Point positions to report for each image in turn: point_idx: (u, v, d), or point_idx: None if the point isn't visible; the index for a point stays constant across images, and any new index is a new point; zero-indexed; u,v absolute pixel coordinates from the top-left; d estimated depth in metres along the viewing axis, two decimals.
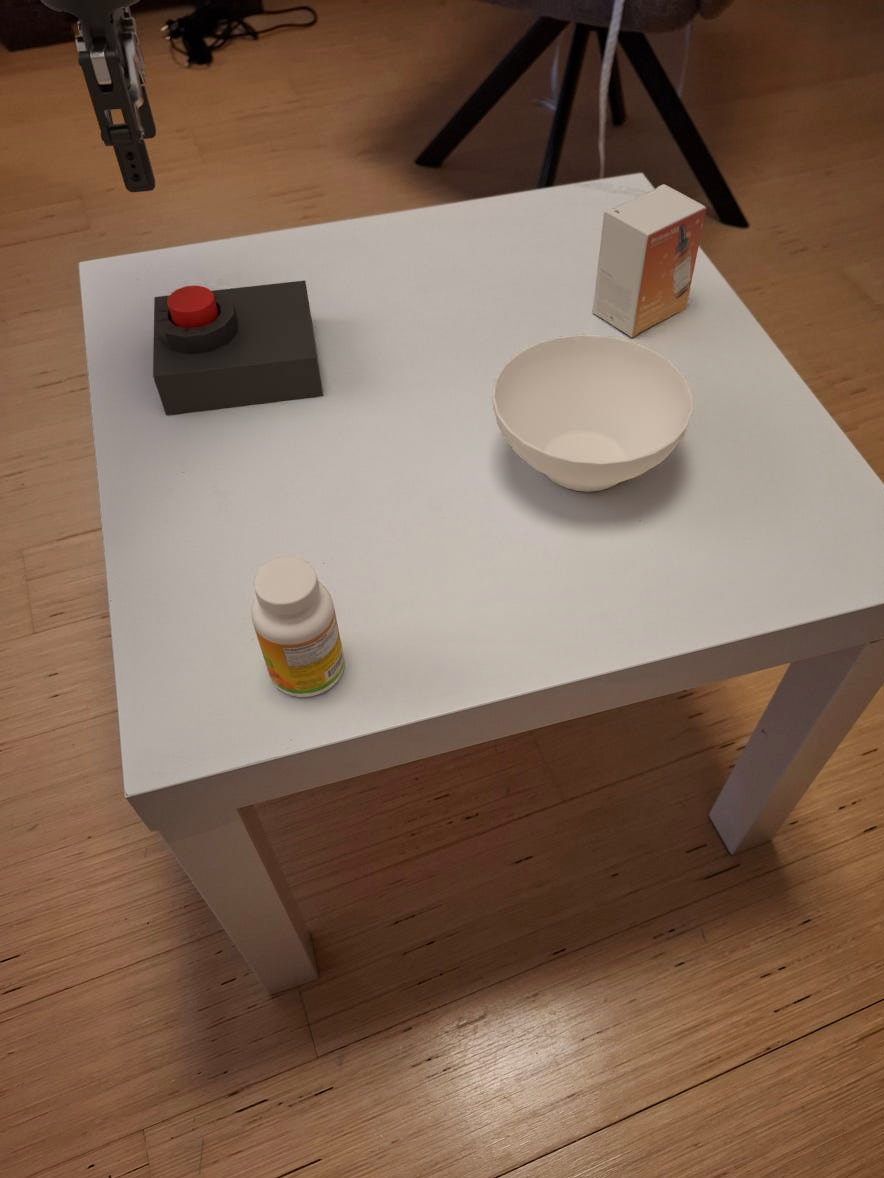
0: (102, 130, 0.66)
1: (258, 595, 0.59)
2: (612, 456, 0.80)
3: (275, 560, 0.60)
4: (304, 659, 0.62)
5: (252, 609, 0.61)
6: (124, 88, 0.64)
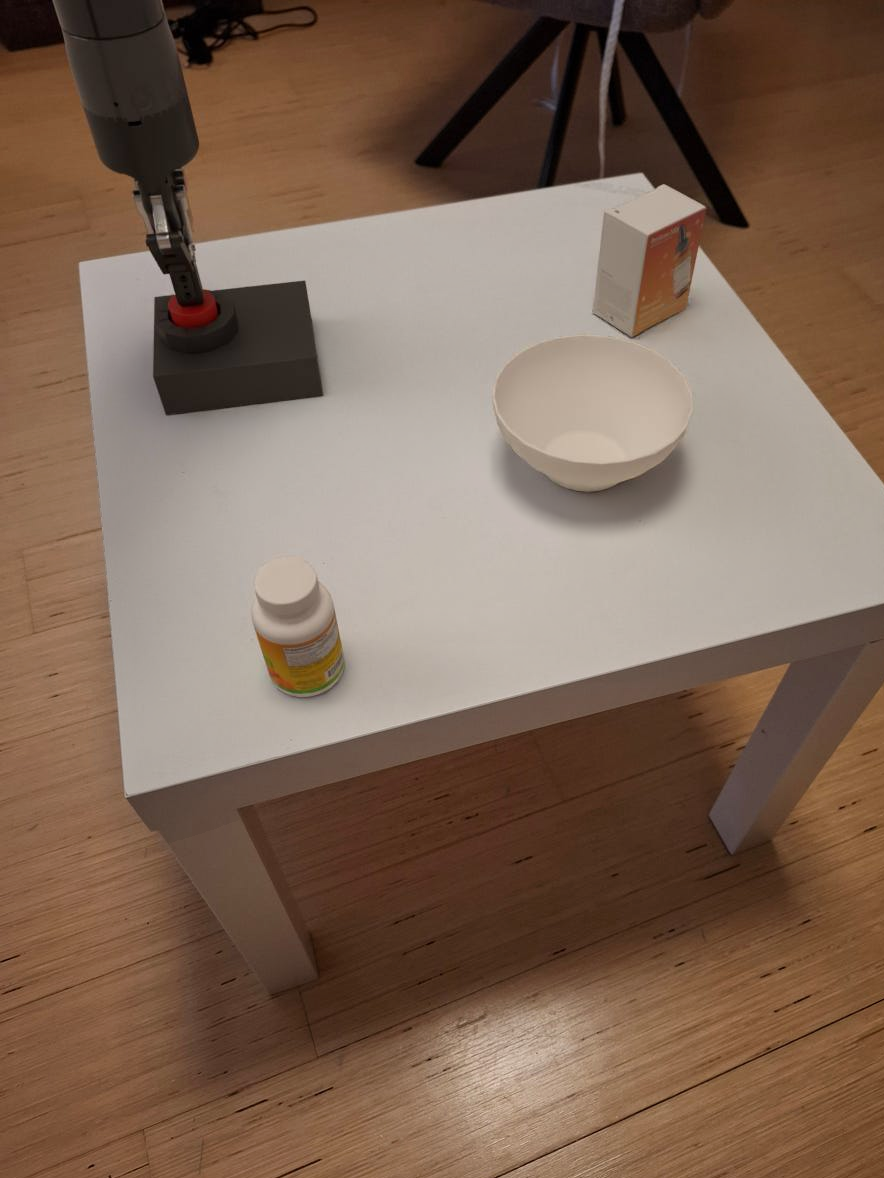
0: (163, 270, 0.76)
1: (258, 595, 0.59)
2: (612, 456, 0.80)
3: (275, 560, 0.60)
4: (304, 659, 0.62)
5: (252, 609, 0.61)
6: (185, 254, 0.73)
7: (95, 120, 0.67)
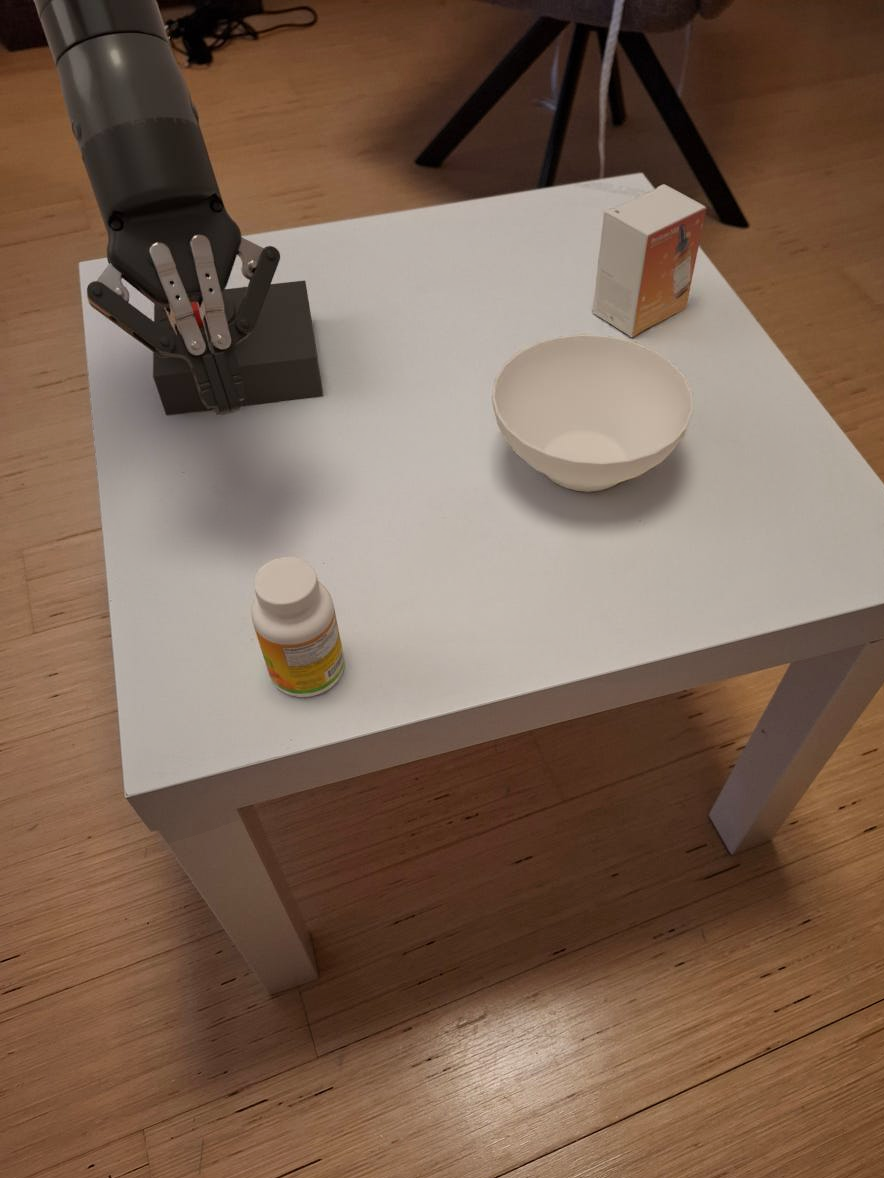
0: None
1: (258, 595, 0.59)
2: (612, 456, 0.80)
3: (275, 560, 0.60)
4: (304, 659, 0.62)
5: (252, 609, 0.61)
6: (116, 315, 0.58)
7: None
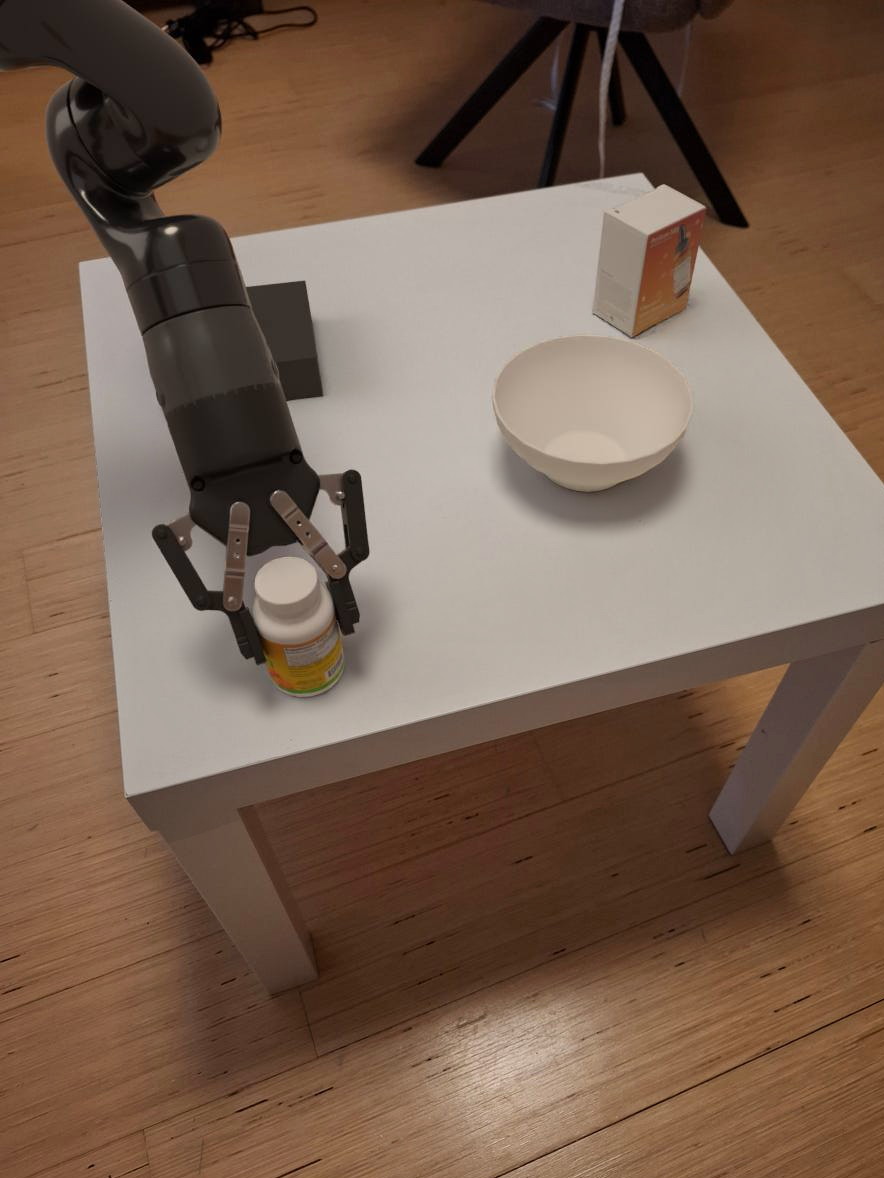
0: None
1: (259, 595, 0.59)
2: (612, 456, 0.80)
3: (276, 560, 0.60)
4: (305, 659, 0.62)
5: (252, 609, 0.61)
6: (167, 561, 0.58)
7: None
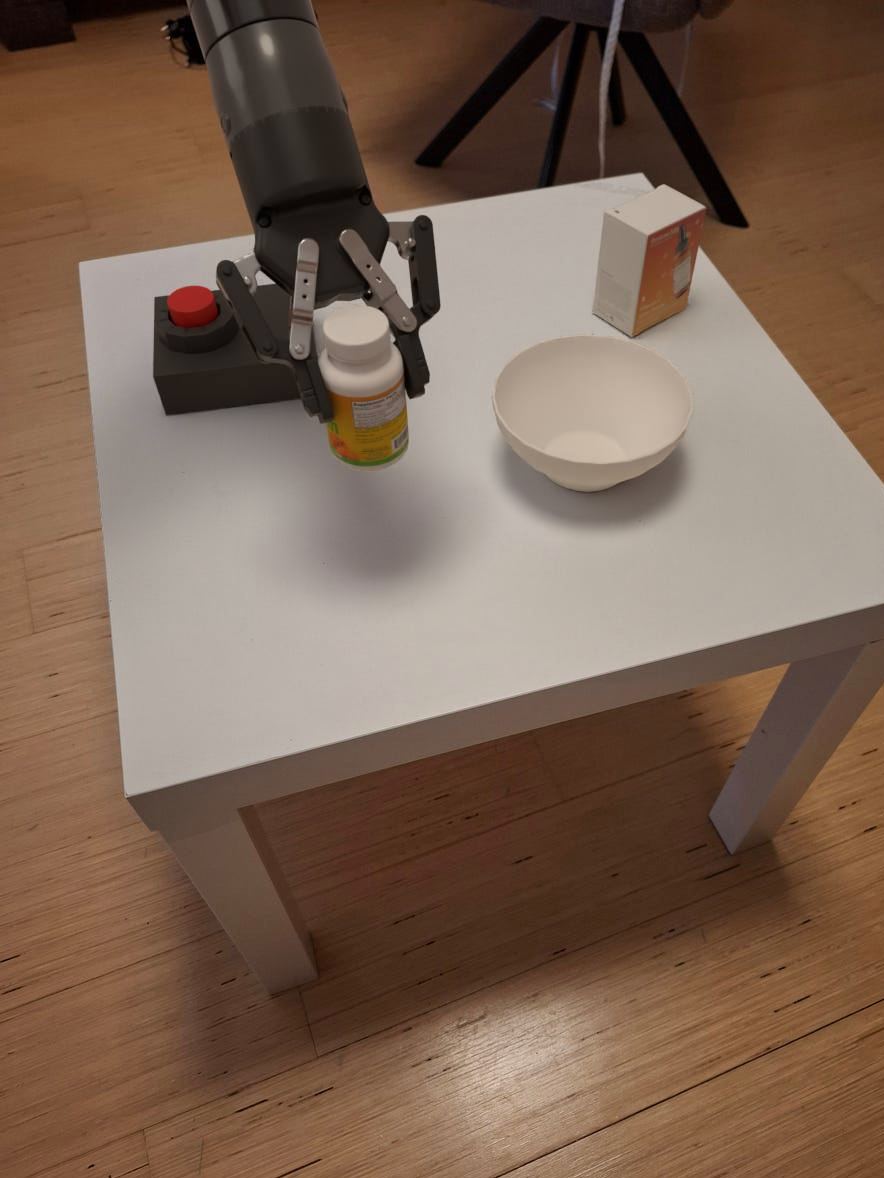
0: (251, 348, 0.58)
1: (328, 338, 0.56)
2: (612, 456, 0.80)
3: (344, 308, 0.57)
4: (373, 419, 0.59)
5: (319, 362, 0.58)
6: (233, 300, 0.55)
7: None
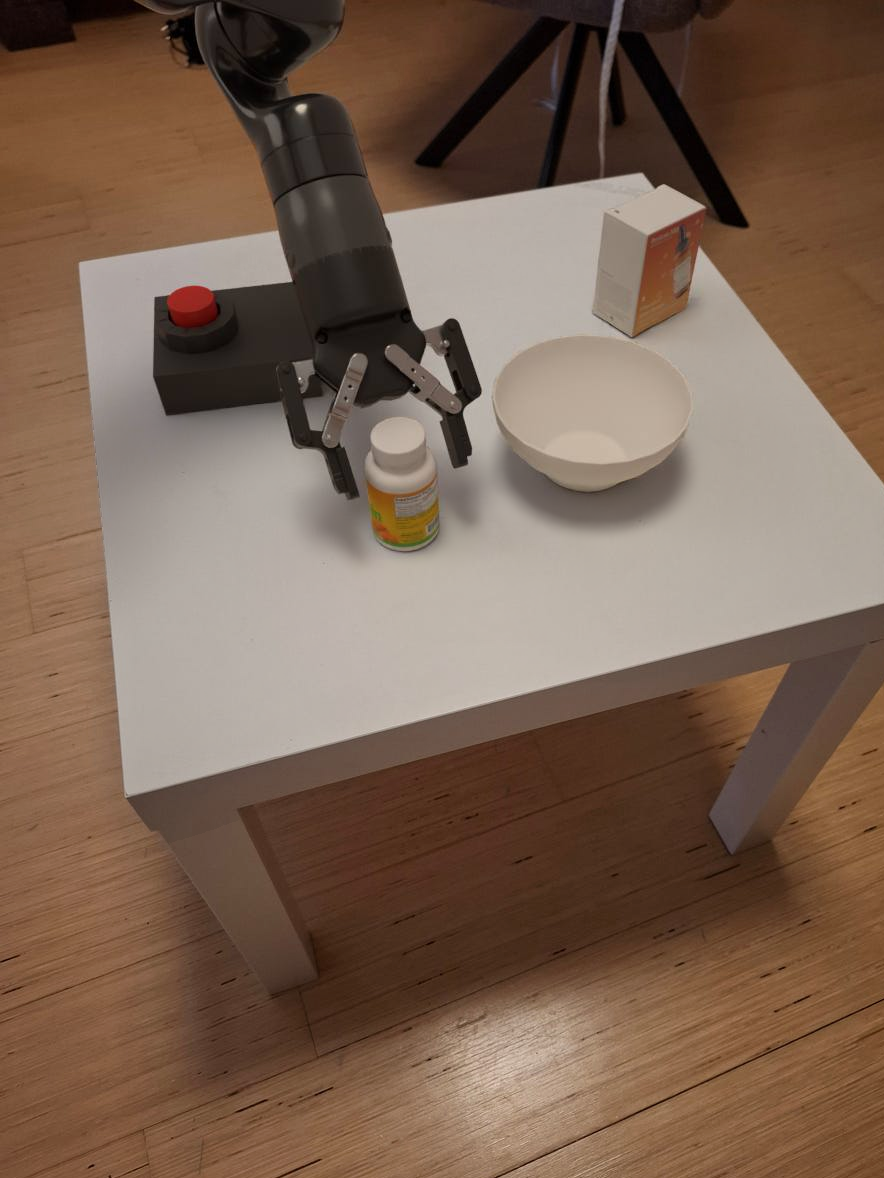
0: (290, 433, 0.68)
1: (375, 447, 0.67)
2: (612, 456, 0.80)
3: (387, 419, 0.68)
4: (411, 510, 0.70)
5: (366, 464, 0.69)
6: (284, 394, 0.66)
7: None
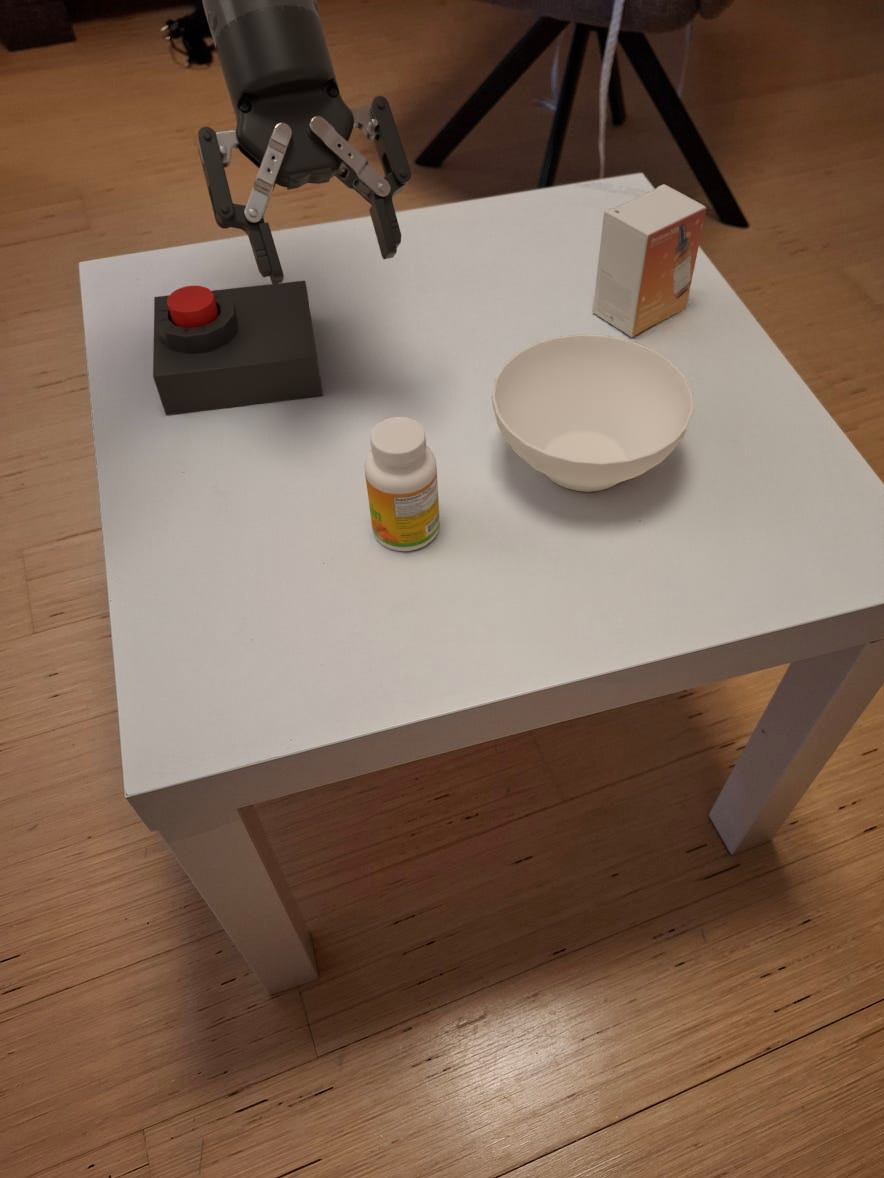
0: (213, 211, 0.67)
1: (375, 447, 0.67)
2: (612, 456, 0.80)
3: (387, 419, 0.68)
4: (411, 510, 0.70)
5: (366, 464, 0.69)
6: (205, 162, 0.64)
7: None
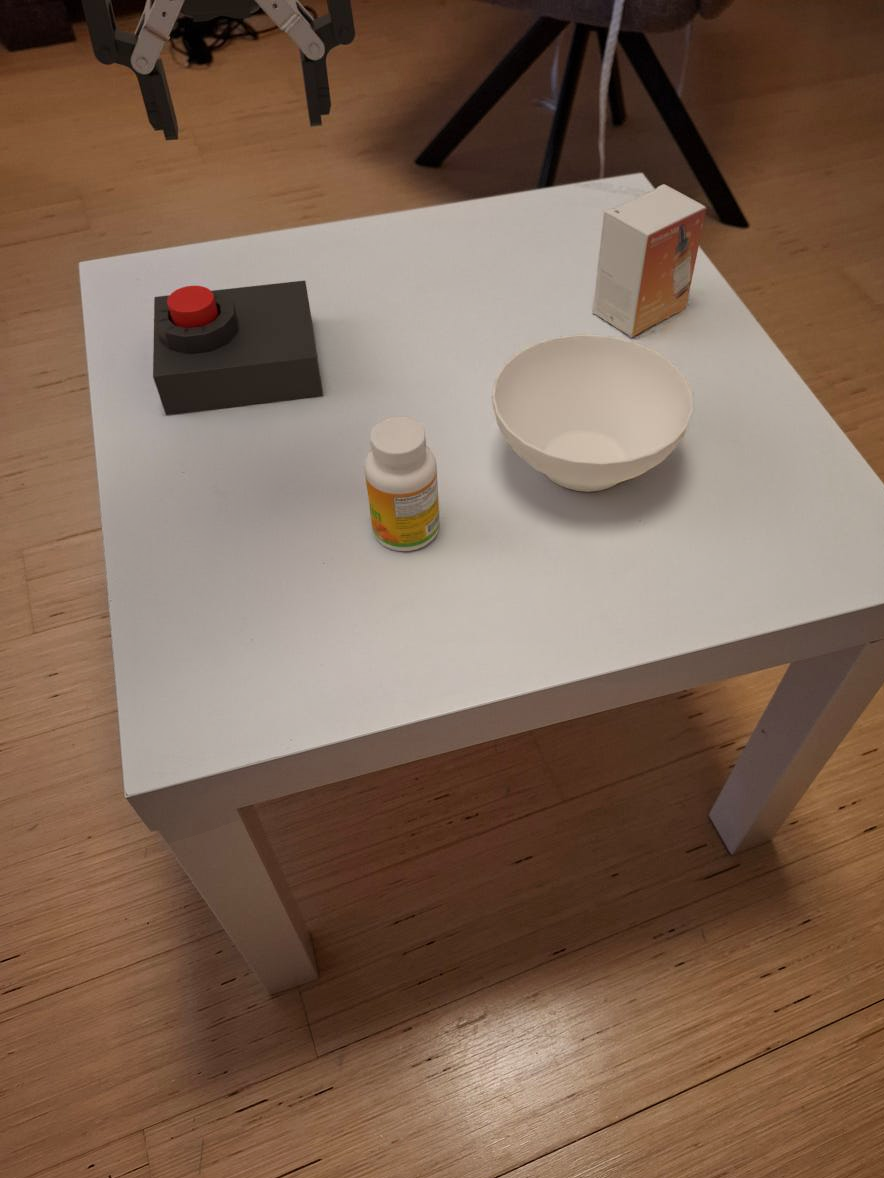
0: None
1: (375, 447, 0.67)
2: (612, 456, 0.80)
3: (387, 419, 0.68)
4: (411, 510, 0.70)
5: (366, 464, 0.69)
6: None
7: None
